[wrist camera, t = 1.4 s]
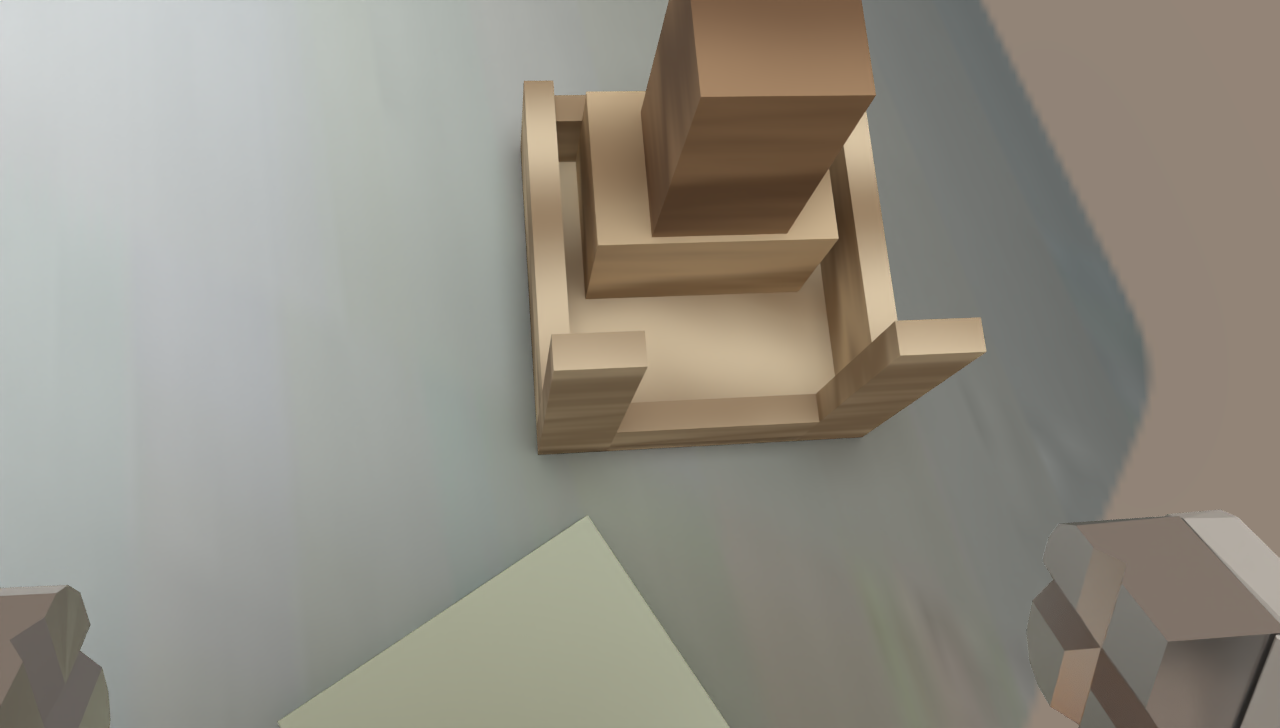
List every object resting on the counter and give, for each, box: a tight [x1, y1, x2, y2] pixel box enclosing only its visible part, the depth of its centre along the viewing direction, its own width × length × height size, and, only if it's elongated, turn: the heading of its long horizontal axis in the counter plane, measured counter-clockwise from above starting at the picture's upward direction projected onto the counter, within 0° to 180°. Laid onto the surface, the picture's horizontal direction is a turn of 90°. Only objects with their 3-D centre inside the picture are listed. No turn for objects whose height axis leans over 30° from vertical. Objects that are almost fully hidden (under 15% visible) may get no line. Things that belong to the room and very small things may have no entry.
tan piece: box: [521, 81, 986, 455], centre depth 37 cm, size 12×12×11 cm
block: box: [641, 0, 876, 237], centre depth 33 cm, size 4×4×9 cm
